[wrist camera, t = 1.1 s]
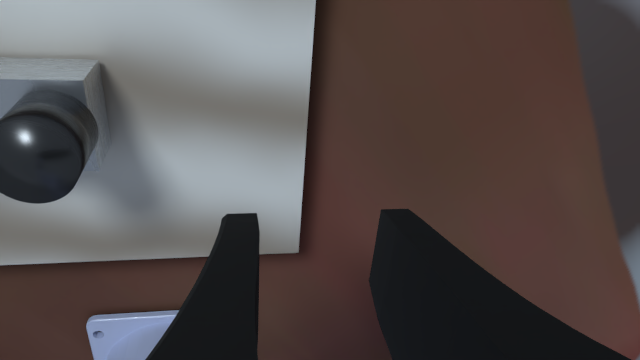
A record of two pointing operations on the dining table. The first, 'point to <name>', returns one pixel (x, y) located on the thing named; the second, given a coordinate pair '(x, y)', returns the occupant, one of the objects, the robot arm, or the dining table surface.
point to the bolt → (50, 126)
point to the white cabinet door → (172, 125)
